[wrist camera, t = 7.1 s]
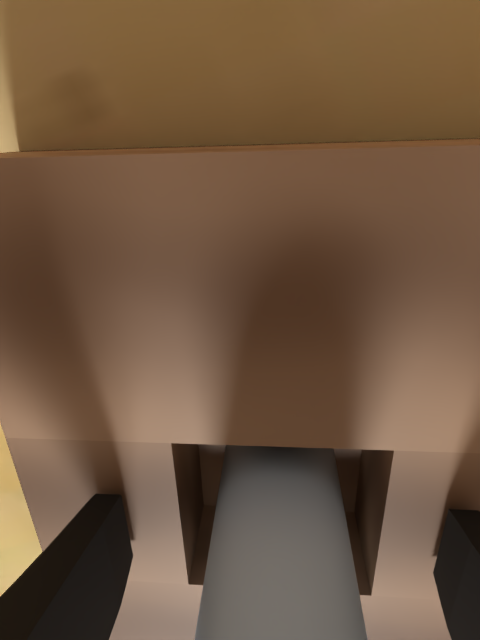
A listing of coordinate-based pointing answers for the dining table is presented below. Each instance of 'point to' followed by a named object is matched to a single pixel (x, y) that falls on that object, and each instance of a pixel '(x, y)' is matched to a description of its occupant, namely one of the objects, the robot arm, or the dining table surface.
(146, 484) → the socket block
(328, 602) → the pin
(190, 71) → the dining table surface
